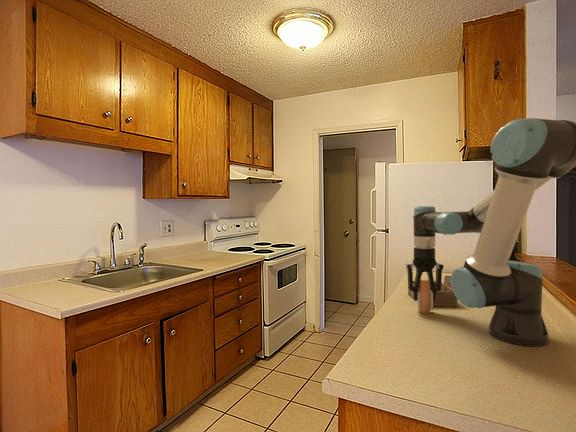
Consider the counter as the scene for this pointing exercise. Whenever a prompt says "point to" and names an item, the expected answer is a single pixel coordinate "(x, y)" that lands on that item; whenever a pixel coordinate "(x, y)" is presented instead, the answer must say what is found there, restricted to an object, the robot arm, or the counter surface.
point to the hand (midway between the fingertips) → (424, 308)
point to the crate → (442, 296)
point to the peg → (424, 296)
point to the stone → (447, 281)
